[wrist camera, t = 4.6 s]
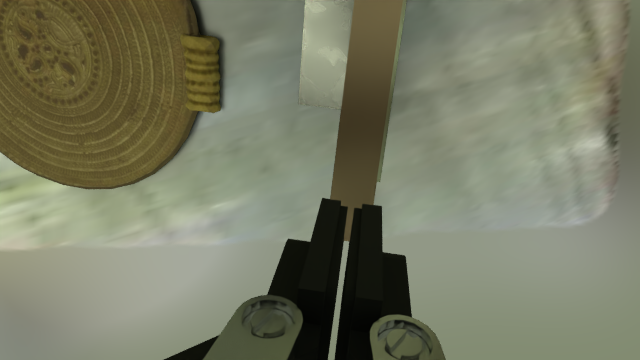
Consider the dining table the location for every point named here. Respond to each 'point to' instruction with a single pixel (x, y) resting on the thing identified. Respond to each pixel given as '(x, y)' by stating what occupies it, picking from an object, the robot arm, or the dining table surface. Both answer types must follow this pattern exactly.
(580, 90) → the dining table surface
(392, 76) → the picture frame
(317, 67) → the frame post
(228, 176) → the dining table surface
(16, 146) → the decorative disc
